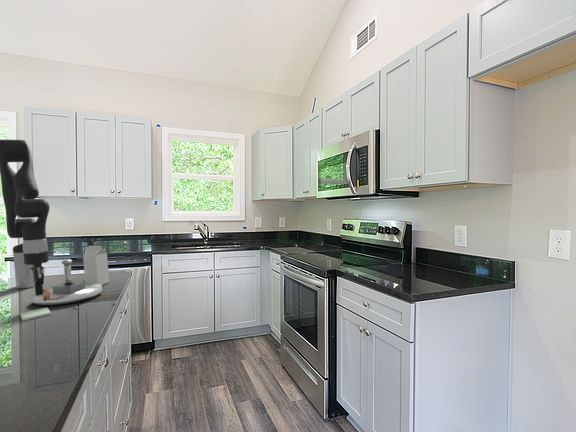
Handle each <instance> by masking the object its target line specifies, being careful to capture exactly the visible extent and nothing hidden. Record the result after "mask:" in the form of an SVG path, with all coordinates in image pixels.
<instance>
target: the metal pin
mask: <svg viewBox="0 0 576 432" xmlns="http://www.w3.org/2000/svg"><path fill="white" fill-rule="evenodd" d="M61 264H62V265H63V270H64V271H63V274H64V283H65V285H72V282H73V278H72V264H73V259H71V258H70V259H64V260H61Z"/></svg>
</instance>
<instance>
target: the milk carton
mask: <svg viewBox="0 0 576 432" xmlns="http://www.w3.org/2000/svg"><path fill="white" fill-rule="evenodd" d="M83 254H84V253H83ZM82 258H83V259H82V260H83V272H84V282H85V283H95V284H100V285H102V286H103V285H106V284H108V283H110V278H109V264H108V253H107V252H106V251H105V250H104V249H103V248H102V245H91V246H90V245H88V248H87V250H85V254H84V255H83V256H82Z"/></svg>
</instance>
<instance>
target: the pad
mask: <svg viewBox="0 0 576 432" xmlns="http://www.w3.org/2000/svg"><path fill="white" fill-rule="evenodd" d="M51 312H52V311H50V309H49V308H48V307H42V308H38V309H34V310H29V311H23V312H21V313H19V315H20V319H21V320H22V322H23V321H29V320H33V319H37V318H41V317H47V316H49V315H50V314H51V315H52V313H51Z"/></svg>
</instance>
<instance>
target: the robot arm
mask: <svg viewBox="0 0 576 432" xmlns="http://www.w3.org/2000/svg"><path fill="white" fill-rule="evenodd" d="M9 163H22V164H21V166H20V167H19V169H18V170H17V171H14V170H13V169H12V167H11V166H10V164H9ZM34 170H35V169H34V163H33V158H32V151H31V147H30V145H29V143H28V142H27V140H25V139H0V182H1V192H2V199H3V202H4V210H5V214H6V215H5V218H6V220H5V223H6V224H5V225H6V231H7V232H6V233H7V235H8V237H9V238H10V239H22V243H19V244H17V245H14V246H13V247H12V256H13V264H14V265H13V266H14V275H15V276H14V277H15V288H16V289H29V288H34V292H35V295H37V296H38V295H42V294H43V292H42V290H44V289H43V288H44V287H43V286H44V283H45V282H44V281H45V267H44V266H43V265H42V264H44V263H45V264H46V263H49V245H48V240H47V232H46V226H47V221H48V217H49V213H50V204H49V202H48V201H47V200H46V199H44V198H38V197H39V195H40V192H39V188H38V185H37V181H36V178H35V172H34ZM17 217H19V218H17ZM34 218H37V219H36V220H35V219H34Z"/></svg>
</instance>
